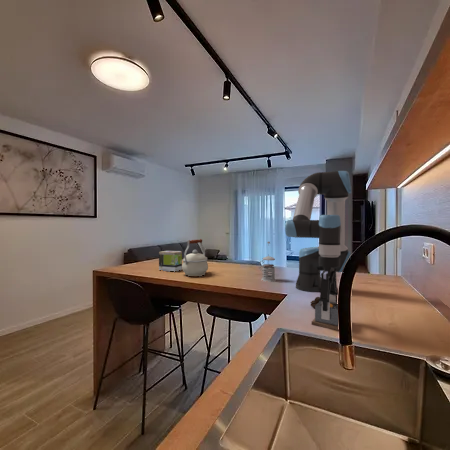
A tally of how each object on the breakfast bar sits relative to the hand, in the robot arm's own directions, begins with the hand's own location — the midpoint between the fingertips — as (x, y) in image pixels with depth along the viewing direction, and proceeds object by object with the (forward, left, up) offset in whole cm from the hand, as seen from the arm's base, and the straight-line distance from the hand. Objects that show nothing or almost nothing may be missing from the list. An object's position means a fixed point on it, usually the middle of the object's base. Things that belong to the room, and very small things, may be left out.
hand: (328, 315), depth 100 cm
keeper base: (0, 0, -3) cm, 3 cm away
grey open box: (0, 0, -2) cm, 2 cm away
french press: (-53, -50, -3) cm, 73 cm away
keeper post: (0, 0, -2) cm, 2 cm away
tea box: (-40, -125, -3) cm, 131 cm away
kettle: (-40, -99, -3) cm, 107 cm away
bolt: (-20, -7, -4) cm, 22 cm away
